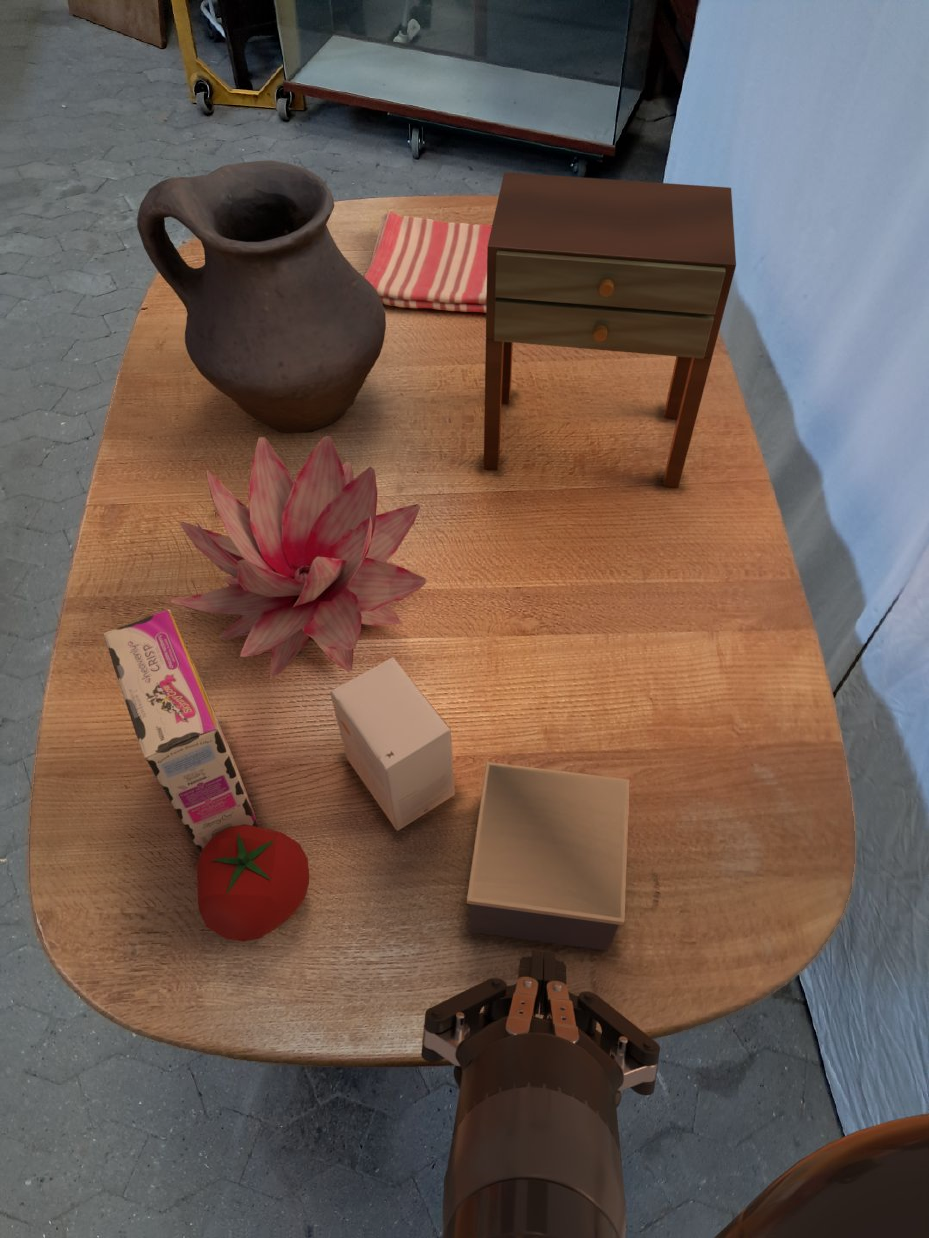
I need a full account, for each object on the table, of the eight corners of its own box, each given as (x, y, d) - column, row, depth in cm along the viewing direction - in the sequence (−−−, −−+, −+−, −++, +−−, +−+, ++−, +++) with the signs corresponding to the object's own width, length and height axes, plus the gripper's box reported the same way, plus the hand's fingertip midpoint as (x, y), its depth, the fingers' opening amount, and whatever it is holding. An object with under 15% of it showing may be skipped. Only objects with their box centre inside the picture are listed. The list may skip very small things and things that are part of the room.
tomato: (215, 847, 70) (192, 807, 64) (319, 845, 70) (305, 804, 64) (198, 953, 65) (172, 920, 59) (310, 951, 65) (294, 918, 59)
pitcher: (394, 464, 94) (373, 242, 74) (183, 475, 94) (105, 253, 74) (390, 342, 107) (372, 123, 87) (204, 351, 106) (142, 131, 86)
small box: (456, 796, 72) (454, 731, 64) (396, 834, 70) (386, 771, 62) (402, 724, 76) (394, 653, 68) (344, 757, 74) (328, 689, 66)
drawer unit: (678, 498, 91) (737, 275, 71) (481, 478, 93) (485, 255, 73) (678, 410, 99) (731, 187, 79) (497, 394, 101) (504, 172, 81)
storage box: (611, 954, 65) (624, 922, 59) (466, 934, 66) (466, 900, 60) (617, 819, 71) (629, 778, 65) (484, 802, 72) (486, 761, 66)
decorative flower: (192, 726, 76) (140, 619, 64) (197, 537, 89) (154, 418, 76) (445, 691, 78) (441, 581, 66) (414, 511, 90) (406, 391, 78)
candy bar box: (267, 835, 70) (220, 729, 57) (204, 863, 69) (141, 762, 56) (221, 723, 76) (169, 604, 63) (163, 747, 75) (97, 631, 62)
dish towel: (383, 232, 121) (381, 207, 118) (558, 243, 119) (560, 218, 116) (359, 309, 111) (356, 283, 108) (550, 322, 109) (552, 296, 106)
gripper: (701, 1116, 38) (656, 922, 55) (391, 1068, 39) (441, 892, 56) (678, 1273, 39) (641, 1035, 56) (377, 1222, 40) (430, 1003, 57)
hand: (541, 964), depth 56 cm, fingers closed
